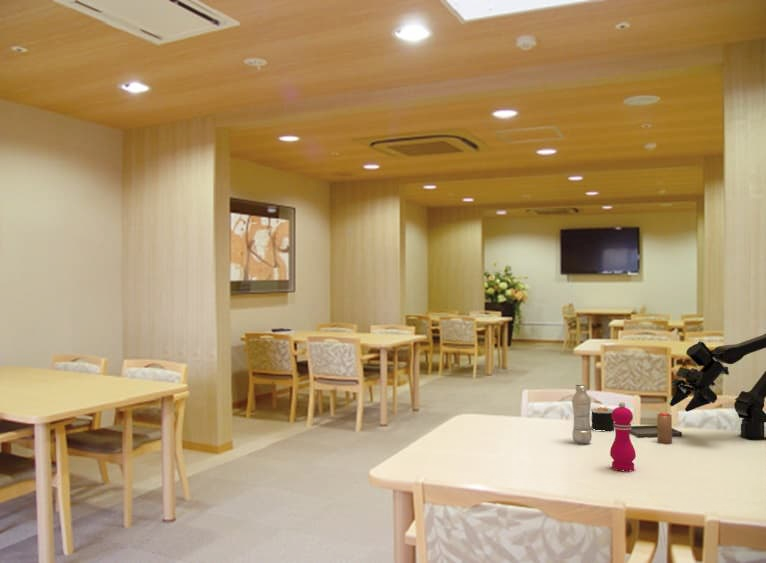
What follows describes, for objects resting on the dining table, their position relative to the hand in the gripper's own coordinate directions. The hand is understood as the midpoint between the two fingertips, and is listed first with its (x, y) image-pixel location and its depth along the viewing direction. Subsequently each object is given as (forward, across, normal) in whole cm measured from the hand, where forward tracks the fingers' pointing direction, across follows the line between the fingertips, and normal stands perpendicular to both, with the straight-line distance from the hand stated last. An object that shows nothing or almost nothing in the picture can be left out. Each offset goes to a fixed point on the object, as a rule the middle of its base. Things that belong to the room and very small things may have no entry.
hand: (678, 408), depth 227 cm
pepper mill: (+32, +26, -15) cm, 44 cm away
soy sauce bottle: (+12, 0, +5) cm, 13 cm away
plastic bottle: (+32, -5, -15) cm, 35 cm away
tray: (+10, -13, +7) cm, 18 cm away
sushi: (+20, -23, -3) cm, 31 cm away
